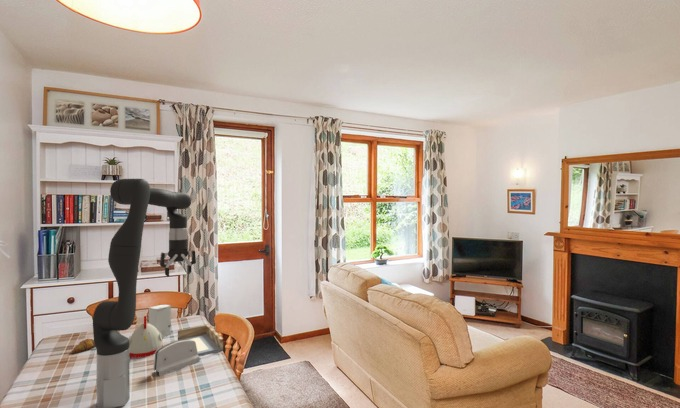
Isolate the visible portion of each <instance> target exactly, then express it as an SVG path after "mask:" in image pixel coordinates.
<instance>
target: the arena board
mask: <svg viewBox="0 0 680 408" xmlns="http://www.w3.org/2000/svg"><path fill="white" fill-rule="evenodd" d="M178 340H193V341H195V342H196V347H197V352H198V356H199V357H200V356H204V355H208V354H212V353H217V352H221V351H224V347H223V348H219V346H218V345H217V344H216V343H215V342H214V341H213V340H212V339H211V338H210V337H209V336H208V335H207V334H203V335H198V336H193V337H188V338H183V339H178V338H177V341H178Z"/></svg>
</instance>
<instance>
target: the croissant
mask: <svg viewBox="0 0 680 408" xmlns="http://www.w3.org/2000/svg"><path fill="white" fill-rule="evenodd" d="M94 348H96V347H95V345H94V338H85V339H83V340H81V341H80V342H79V343H78V344H77V345H76V346H74V347H73V349H72V350H71V352H70V353H71V355H77V354H79V353H84V352H86V351H88V350H89V351H90V350H92V349H94Z"/></svg>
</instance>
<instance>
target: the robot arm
mask: <svg viewBox="0 0 680 408" xmlns="http://www.w3.org/2000/svg"><path fill="white" fill-rule="evenodd" d="M109 191H110V192H109V193H110V197H111V198H112V199H111V200H113V202H115V203H116V204H119V205H126V206H129V210H128V214H127V217H126V219H125V220H124V222H123V223H122V225H121V226H120V227H119V228H118V230H117V231H116V232H115V233H114V235H113V237H112V238H111V241H110V244H109V252H108V265H109V268H110V271H111V272H112V274H113V276H114V278H115V281H116V282H117V288H118V298H117V300H104V301H102V302H99V304H98V305H97V306H96V307H95V309H94V311H93V316H92V331H93V334H92V335H93V340H94V345H95V347H94V348H95V349H96V350H95V351H96V408H120V407H122V406H126V405H127V402H129V400H130V397H131V396H130V393H131V391H130V387H131V386H130V356H129V347H130V343H129V337H127V336H125V335H123V334H121V333H120V331H127V330H128V329H130V328H131V326H132V325H133V323H134V321H135V316H136V309H137V281H138V272H139V264H140V258H141V251H142V250H141V249H142V240H143V239H142V238H143V233H144V225H145V219H146V215H147V211H148V207H149V206H157V207H160V208H161V207H162V208H166V211H167V215H168V218H169V229H168V230H169V231H168V252H163V251H162V252H160V260H159V261H160V262H159V265H160V267H161V268H164V275H165V276H166V277H170V266H171V265H172V264H173V262H174V263H176V262H183V261H184V262H185V263H186V264H187V266H186V269H187V270H186V272H187V275H191V273H192V266H193V265H195V264H196V263H197V260H196V259H197V258H196V256H197V255H196V250H193V249H192V250H189V248H188V239H189V236H188V235H189V234H188V229H187V228H188V218H187V217H188V216H187V215H185V214H181V213H179V211H178V210H186V209H189V207H191V205H192V199H191V198H192V197H191V196H190V195H189V194H188V193H186V192H179V191H171V190H167V189H163V188H154V187H152V188H151V187H150V183H149V182H148V180H146V179H145V178H120V179H117V180H115V181H113V183H112V184H111V186H110V190H109ZM188 255H189V256H191V261H190V260H189V259H188V258H187V257H188ZM167 256H168V260H167V262H166V263H165V260H166V258H167Z"/></svg>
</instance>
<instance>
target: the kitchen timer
mask: <svg viewBox="0 0 680 408" xmlns="http://www.w3.org/2000/svg"><path fill="white" fill-rule="evenodd" d="M143 316H144V317H143V323H142V324H140V325H139V326H137V327H136V328H135V330H134V331H133V332H132V334H131V335H130V336H129V337H128V339H129V343H130V347H129V358H146V357H150V356H153V355H155V351H156V350H158V349H159V348H161V347H162V346H164V343H163V338H162V335H161V333H160V331H158V330H157V329H156V328H155V327H154V326H153V325H151V324H149V322H148V323H147V316H146V315H143Z"/></svg>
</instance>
